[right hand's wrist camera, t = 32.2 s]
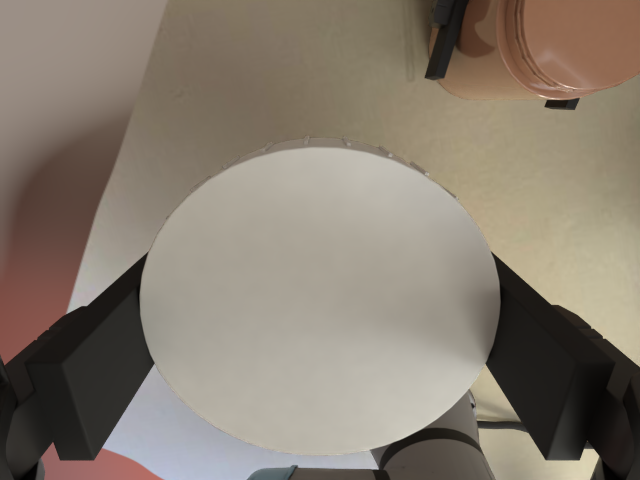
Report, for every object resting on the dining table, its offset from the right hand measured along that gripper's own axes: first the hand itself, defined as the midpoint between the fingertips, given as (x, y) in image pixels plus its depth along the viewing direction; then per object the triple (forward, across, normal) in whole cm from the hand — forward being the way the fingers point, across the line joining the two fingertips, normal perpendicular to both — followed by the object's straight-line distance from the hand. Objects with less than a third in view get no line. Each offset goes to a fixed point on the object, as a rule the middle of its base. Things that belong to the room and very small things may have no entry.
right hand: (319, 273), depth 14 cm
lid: (-3, 0, 0) cm, 3 cm away
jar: (+25, -15, -11) cm, 31 cm away
